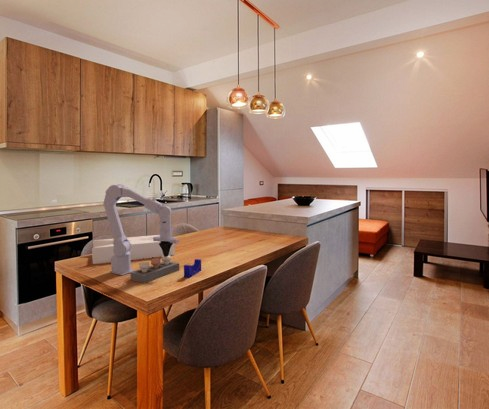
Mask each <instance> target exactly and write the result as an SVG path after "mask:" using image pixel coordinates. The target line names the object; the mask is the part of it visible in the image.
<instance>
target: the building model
mask: <svg viewBox="0 0 489 409" xmlns="http://www.w3.org/2000/svg"><path fill="white" fill-rule="evenodd" d="M126 237H127V236H126ZM153 237H160V234H155V235H154V234H153V235H142V236H129V237H127V239H128V241H129V242H130V243H131V249H130V250H129V252H130V258H131V261H134V260H135V261H136V260H143V258H144V259H151V258H152V257H154V258H160V257H161V258H162V256H164V255H163V251H162V249H161V247H160V245H159V243H160V241H153ZM113 240H114V238H106V239H93V240H92V243H93V244H92V245H93V246H92V248H91V255H92V256H91V258H92V265H98V264H108V263H111V258H112V256H113V255H114V252H113V248H114V245H113ZM175 245H176V244H175V243H173V244H172V246H171V248H170V251H169V256H171V255H172V256H175V255H176V251H175ZM172 256H171V257H172ZM152 259H153V258H152Z"/></svg>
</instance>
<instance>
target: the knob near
mask: <svg viewBox="0 0 489 409" xmlns="http://www.w3.org/2000/svg"><path fill="white" fill-rule="evenodd" d="M138 265H139V267H138V268H139V270H140V269H142V273H143V274H145V273H147V268H149V266H150V261H149V262H148V261H143V262H140V263H139V264H138Z"/></svg>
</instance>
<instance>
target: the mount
mask: <svg viewBox="0 0 489 409" xmlns="http://www.w3.org/2000/svg"><path fill="white" fill-rule="evenodd" d="M178 271H180V263H179V262H174V261H172V260H170V261H169V265H168V266H164V261H160V264H159V265H158V269H157V270H154V269H153V265H149V268H147V273H145V274H143V273H142V269H140V268H139V269H136V270H135V271H133V272H130V273H129V274H130V276H129V277H130V281H133V282H134V281H135V282H138V283H141V284H145V283H148V282H150V281H151V282H152V281H153V280H156V279H159V278H162V277H164V276H167V275H169V274H173V273H176V272H178Z"/></svg>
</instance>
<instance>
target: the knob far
mask: <svg viewBox="0 0 489 409" xmlns="http://www.w3.org/2000/svg"><path fill="white" fill-rule="evenodd" d="M171 258H172V256H167V257H165V256H162V257H161V262H164V266H168V265H169V261H172V259H171Z"/></svg>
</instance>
